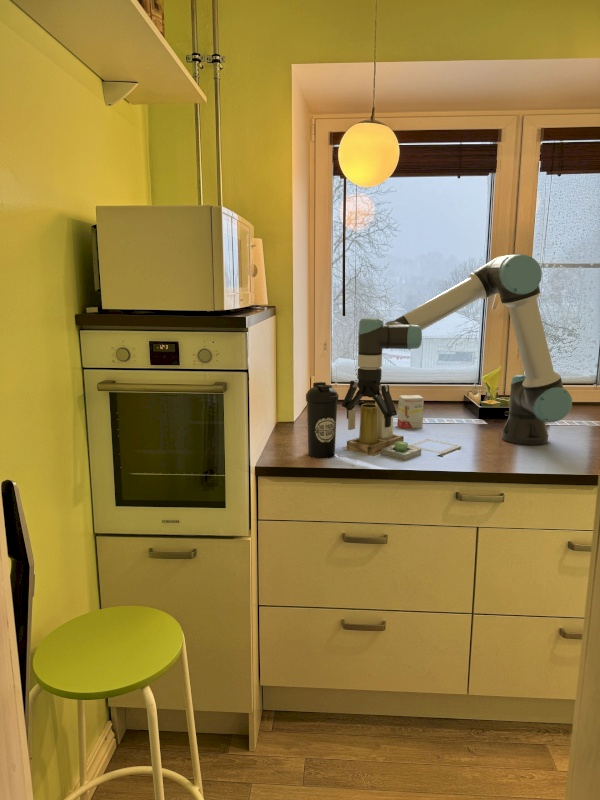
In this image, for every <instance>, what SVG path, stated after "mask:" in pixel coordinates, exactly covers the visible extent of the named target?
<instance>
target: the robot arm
mask: <svg viewBox="0 0 600 800" xmlns="http://www.w3.org/2000/svg"><path fill="white" fill-rule="evenodd" d="M542 274H543V272H542V268H541V264H539V262H538V261H537V260H536V259H535V258H533V257H532V256H530V255H527V254H522V253H515V254H508V255H501V256H497V257H495V258H494V259H492V260H490V261H489V262H487V263H486V264H484V265H482V266H481V267H479V268H477V269H476V270H474V271H472V272H470V274H469V277H468V278H466V279H465V280H463V281H461V282H460V283H458V284H456V285H454V286H452V287H451V288H448V289H447V290H445V291H443V292H442V293H439V294H438V295H437V296H434V297H433V298H431V299H429V300H428V301H425V302H423V303H422V304H421V305H419V306H416V307H415V308H413V309H412V310H410V311H408V312H407V313H405V314H403V315H402V316H400V317H398V318H396V319H394V320H390V321H387V322H386V323H384V320H383V318H379V317H378V318H377V317H376V318H375V317H364V318H363V317H362V318H361V319H360V320H359V323H358V332H357V334H358V338H357V339H358V340H357V341H358V346H357V348H358V349H357V351H358V353H357V367H358V368H357V379H353V380H350V382H349V387H348V390H347V393H346V395H345V396H344V399H343V402H342V404H341V406H342V408H345V410H346V419H347V420H348V421H347V430H349V431H352V430H355V429H356V408H355V407H356V405H357V404H358V403H359V402H360V401H361V399H362V398H363V397H365V398H366V397H368V398H370V399H371V398H372V399H373V401H374V402H376V403H377V405H378V406H379V408H380V410H381V411H382V413H383V415H384V417H382V435H381V437H382V438H385V437H388V436H389V427H390V426H391V417H392V416H393V417H394V416H398V411H397V410H396V406H395V403H394V404H393V401H394V400H393V398H392V395H391V392H390V385H389V384H384V385H383V384H382V385H381V380H382V373H383V371H382V370H383V369H382V368H381V367H382V366H383V364H382V363H383V350H390V349H392V350H414V349H419V348H420V347H421V345H422V340H423V330H425V329H427V328H429V327H430V326H433V325H434V324H436V323H438V322H440V321H441V320H444V319H445V318H447V317H449V316H451V315H452V314H454V313H456V312H458V311H459V310H462V309H464V307H467V306H469V305H470V304H472V303H473V302H475V301H477V300H479V299H481V300H486V299H488V298H489V297H491V296H493V295H497V294H499V298H500V302H501V303H500V304H501V305H503V306H505V307H506V308H507V309H508V313H509V317H510V319H511V324H512V328H513V333H514V336H515V340H516V344H517V348H518V353H519V356H520V361H521V364H522V368H523V371H524V374H517V375H514V376H512V378H511V382H510V395H509V410H508V418H507V420H506V422H505V425H504V426H503V429H502V432H501V438H502V439H503V440H504V441H506V442H507V443H508V442H509V443H511V444H517V445H521V446H522V445H525V446H542V445H545V444H547V443H549V432H548V429H547V425H546V424H547V423H557V422H560V421H562V420H563V419H564V418H566V417H567V416H568V414H569V413H570V411H571V409H572V407H573V398H572V395H571V394H570V392H569V391H568V390H567V389H565V388H564V385H563V381H562V377H561V374H559V373H557V372H555V371H554V365H553V361H552V359H551V353H550V350H549V349H550V348H549V345H548V342H547V338H546V333H545V329H544V324H543V321H542V316H541V312H540V309H539V308H540V307H539V303H538V298H539V297H540V295H541V291H540V290H541V289H540V283H541V281H542V277H543V275H542ZM357 388H358V390H357Z"/></svg>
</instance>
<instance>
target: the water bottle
mask: <svg viewBox="0 0 600 800" xmlns="http://www.w3.org/2000/svg"><path fill="white" fill-rule="evenodd" d="M305 401H306V414H307V419H306V420H307V421H306V422H307V455H308V457H310V458H313V459H318V460H319V459H321V460H323V459H324V460H325V459H331V458H334V457H335V456H336V454H335V452H336V438H337V437H336V436H337V434H336V433H337V414H338V413H337V412H338V403H339V393H338V391H336V389H334V388H333V385H332V384H327V383H326V381H325V382H321V381H319V382H318V381H317V382H313V383H312V387H311V388H310V389H308V391H307V392H306V394H305Z"/></svg>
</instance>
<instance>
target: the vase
mask: <svg viewBox="0 0 600 800" xmlns="http://www.w3.org/2000/svg"><path fill="white" fill-rule="evenodd" d="M358 438H359V443H361V444H365V445H369V446H370V445H373V444H377V405H375V404H374V403H366V404H365V403H363V404H361V405H360V418H359V435H358Z"/></svg>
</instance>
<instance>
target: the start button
mask: <svg viewBox="0 0 600 800" xmlns="http://www.w3.org/2000/svg"><path fill="white" fill-rule="evenodd" d="M408 445H409V443H408V442H407V441H403V442H402V441H398V442H395V450H397V451H407V450H408Z"/></svg>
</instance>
